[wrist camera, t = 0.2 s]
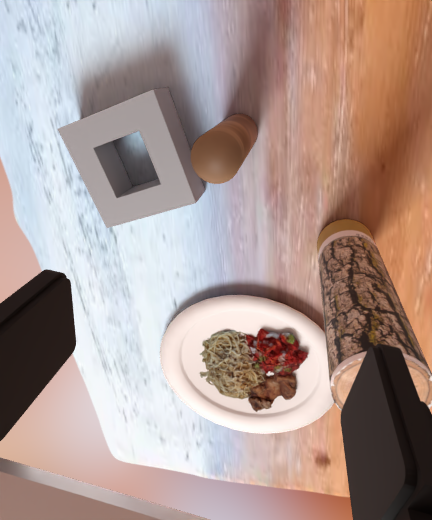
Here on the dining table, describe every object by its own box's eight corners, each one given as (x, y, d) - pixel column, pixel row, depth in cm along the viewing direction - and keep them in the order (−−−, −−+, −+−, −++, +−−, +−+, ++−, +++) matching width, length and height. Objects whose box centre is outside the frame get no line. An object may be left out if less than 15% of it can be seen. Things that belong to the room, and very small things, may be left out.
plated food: (146, 385, 68) (139, 399, 65) (191, 259, 53) (184, 271, 50) (292, 445, 67) (291, 462, 65) (379, 337, 52) (383, 352, 49)
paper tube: (339, 207, 44) (376, 338, 23) (383, 235, 45) (461, 390, 23) (306, 247, 48) (311, 394, 26) (347, 273, 48) (386, 438, 27)
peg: (216, 120, 42) (183, 141, 30) (251, 108, 41) (231, 124, 29) (227, 156, 44) (200, 189, 32) (262, 145, 43) (247, 175, 31)
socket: (80, 123, 46) (57, 129, 42) (168, 87, 42) (152, 89, 38) (123, 214, 51) (106, 228, 47) (205, 190, 47) (195, 202, 43)
